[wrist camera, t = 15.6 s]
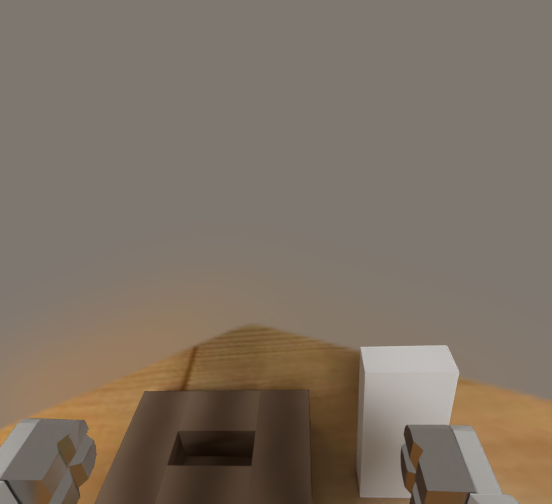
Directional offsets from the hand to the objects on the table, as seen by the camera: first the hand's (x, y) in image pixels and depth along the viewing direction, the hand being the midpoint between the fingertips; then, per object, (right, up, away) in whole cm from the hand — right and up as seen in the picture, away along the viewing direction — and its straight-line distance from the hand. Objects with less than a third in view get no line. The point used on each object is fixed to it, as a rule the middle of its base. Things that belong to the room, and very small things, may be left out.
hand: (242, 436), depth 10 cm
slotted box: (-4, -15, +25) cm, 29 cm away
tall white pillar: (+11, -15, +24) cm, 30 cm away
